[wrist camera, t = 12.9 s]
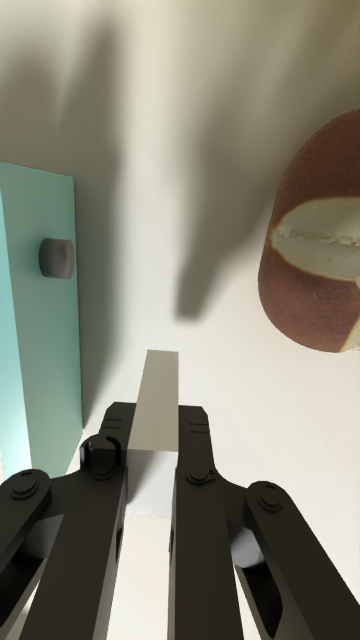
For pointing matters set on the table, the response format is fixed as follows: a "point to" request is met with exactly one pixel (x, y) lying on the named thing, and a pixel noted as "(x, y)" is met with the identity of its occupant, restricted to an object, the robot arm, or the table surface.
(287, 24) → the table surface
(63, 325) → the teal drawer
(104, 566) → the robot arm
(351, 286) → the bread
